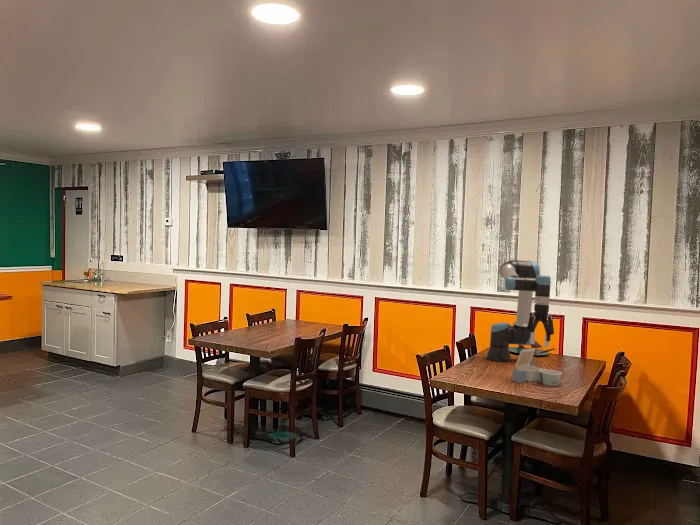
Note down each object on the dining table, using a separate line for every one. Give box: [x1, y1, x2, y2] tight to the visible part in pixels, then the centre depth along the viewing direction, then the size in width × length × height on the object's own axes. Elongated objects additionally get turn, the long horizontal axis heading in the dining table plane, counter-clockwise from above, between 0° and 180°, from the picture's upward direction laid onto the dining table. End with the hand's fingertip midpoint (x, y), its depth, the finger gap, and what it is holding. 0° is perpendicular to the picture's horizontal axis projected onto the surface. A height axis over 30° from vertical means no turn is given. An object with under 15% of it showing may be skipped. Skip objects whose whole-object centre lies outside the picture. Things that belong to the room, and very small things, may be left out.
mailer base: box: [515, 365, 543, 383], centre depth 302 cm, size 10×11×6 cm
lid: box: [515, 348, 536, 368], centre depth 305 cm, size 11×11×1 cm
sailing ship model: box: [509, 340, 549, 356], centre depth 381 cm, size 28×28×11 cm
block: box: [511, 368, 527, 384], centre depth 294 cm, size 5×5×6 cm
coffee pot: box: [521, 347, 557, 367], centre depth 321 cm, size 21×12×15 cm, turn 72°
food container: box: [539, 368, 563, 387], centre depth 293 cm, size 12×12×7 cm
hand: (539, 345), depth 297 cm, fingers open, 9 cm apart
